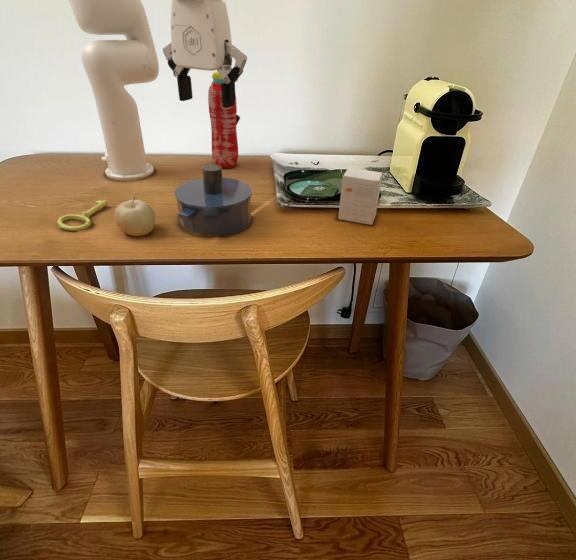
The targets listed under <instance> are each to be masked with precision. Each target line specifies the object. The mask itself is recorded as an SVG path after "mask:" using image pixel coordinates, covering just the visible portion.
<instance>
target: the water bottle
mask: <svg viewBox="0 0 576 560" xmlns="http://www.w3.org/2000/svg"><path fill="white" fill-rule="evenodd" d="M211 78H212V81H211V82H210V83H211V84H210V85H209V88H208V94H207V95H208V96H207V102H208V112H209V113H208V114H209V120H210V130H211V156H212V157H211V158H212V161H213V162H214V165H219V166H221V167H222V169H232V168H234V167H236V166H237V163H238V159H239V143H238V133H237V124H239V121H240V120H241V117H240V115H238V114H237V111H238V109H237V95H236V93H235V105H234V106H231V107H228V108H224V107H223V106H222V92H221V84H222V83H224V81H223V79H222V78H221V76H220V74H219V73H218V71H214V72H212V76H211Z"/></svg>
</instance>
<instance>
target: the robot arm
mask: <svg viewBox="0 0 576 560" xmlns="http://www.w3.org/2000/svg"><path fill="white" fill-rule="evenodd" d="M68 2H69V5H70V7H71V11H72V14H73V16H74V19H75V21H76V24H77V25H78V27H79V29H80V30H81V31H83V32H84V33H86V34H88V35H96V36H117V35H118V36H121V35H123V36H124V37H125V39H103V40H102V39H101V40H94V41H91V42H88V43H86V44H85V45H84V47H83V48H82V50H81V63H82V65H83V68H84V71H85V73H86V77H87V79H88V81H89V84H90V87H91V90H92V93H93V97H94V100H95V104H96V110H97V113H98V116H99V117H98V118H99V121H100V126H101V131H102V135H103V140H104V144H105V149H106V152H105V153H104V156H101V161H102V162H103V163H107V168H106V169H105V171H104V172H105V176H107V177H108V178H110V179H114V180H124V181H125V180H126V181H127V180H137V179H142V178H145V177H148V176H150V175H152V174H153V173H154V171H155V169H154V166H153V165H152V164H150V163H148V162H147V156H146V150H145V143H144V139H143V133H142V132H143V131H142V126H141V119H140V115H139V114H140V113H139V109H138V105H137V101H136V100H135V99H134V98H133V96H132V95H131V94H130V93H129V92H128V90H127V89H126V88H125V86H129V85H136V84H138V85H139V84H148V83H151V82H154V81H156V80H157V78H158V76H159V72H160V65H159V58H158V54H157V50H156V46H155V43H154V38H153V35H152V32H151V28H150V24H149V20H148V17H147V12H146V10H145V7H144V4H143V2H142V0H68ZM170 40H171V41H170V42H169V43H168V44H167V45H165V46H164V47H163V48H162V52H163V55H164V57H165V60H166V61H167V65H168V67H169V68H170V70H171V71H172V74H173V76H174V77H175V78H176V82H177V90H178V100H179V101H180V102H185V101H189V100H192V99H193V98H194V97H193V96H194V95H193V87H192V85H193V84H192V77H191V75H188V74H189V73H190V71H191V70H198V71H199V70H201V71H209V72H212V71H214V72H215V71H216V72H218V73H219V74H220V76H221V78H222V79H223V81H224V83H222V84H221V92H222V106H223V107H224V108H228V107H231V106H234V105H235V94H236V82H238V80H239V78H240V77H241V76H242V74H243V73H244V68H245V66H246V64H247V61H248V56H247V55H246V54H245V53H244V52H242V51H241V50H240V49H239V48H237V47H236V46H235V45H233V42H232V32H231V24H230V17H229V14H228V8H227V5H226V1H223V0H171V8H170ZM233 59H234V66H233V67H232V65H233Z"/></svg>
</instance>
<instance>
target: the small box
mask: <svg viewBox="0 0 576 560" xmlns="http://www.w3.org/2000/svg"><path fill="white" fill-rule="evenodd" d="M382 179H383V172H382V171H381V172H380V171H375V170H368V169H367V170H366V169H359V168H353V167H348V168H347V170H346V171H345V172H344V174H343V175H342V179H341V180H342V181H341V188H340V189H341V190H340V197H339V198H340V199H339V207H338V208H339V209H338V217H337V219H338V220H340V221H346V222H353V223H357V224H363V225H369V226H373V224H374V221H375V218H376V216H377V211H378V204H379V198H380V192H381V185H382Z"/></svg>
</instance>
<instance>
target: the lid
mask: <svg viewBox="0 0 576 560" xmlns="http://www.w3.org/2000/svg"><path fill="white" fill-rule="evenodd" d="M201 172H202V173H201V174H202V177H200V178H195V179H192V180H191V179H190V180H188V181H185V182H183V183H181V184H180V185H178V186H177V187H176V188H175V189H174V192H173V193H174V198H175V200H176V202H177V201H178V202H180V203H181V204H183V205H186V206H189V207H193V208H198V209H224V208H230V207H234V206H237V205H240V204H242V203H244V202H246V201H247V200H249V199H251V197H252V196H253V189H252V187H251V186H250V185H249V184H248V183H246V182H244V181H243V180H239V179H235V178H231V177H223V168H222V167H221V166H219V165H216V164H206V165H203V166H202V167H201Z"/></svg>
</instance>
